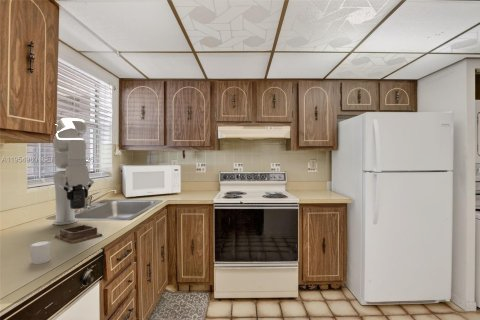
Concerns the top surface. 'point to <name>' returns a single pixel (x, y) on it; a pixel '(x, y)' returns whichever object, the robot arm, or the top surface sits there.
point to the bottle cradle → (78, 233)
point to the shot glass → (40, 252)
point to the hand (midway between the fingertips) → (77, 198)
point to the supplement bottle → (78, 197)
